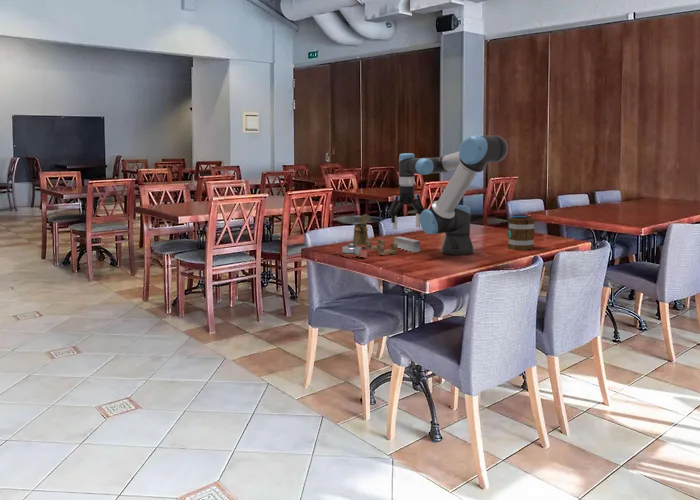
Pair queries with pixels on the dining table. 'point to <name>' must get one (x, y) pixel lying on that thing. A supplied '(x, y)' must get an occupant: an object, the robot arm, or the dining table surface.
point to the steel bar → (407, 244)
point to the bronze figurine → (361, 230)
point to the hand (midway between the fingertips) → (406, 228)
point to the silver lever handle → (354, 250)
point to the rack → (382, 247)
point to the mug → (521, 233)
